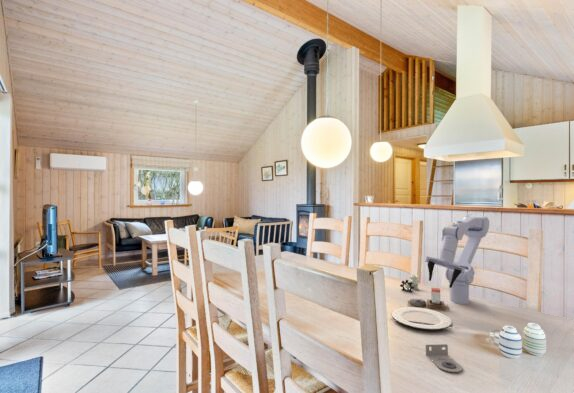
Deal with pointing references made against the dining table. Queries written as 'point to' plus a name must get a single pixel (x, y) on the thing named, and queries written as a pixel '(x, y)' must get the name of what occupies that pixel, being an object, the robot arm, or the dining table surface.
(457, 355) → the dining table surface
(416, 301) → the board
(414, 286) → the valve
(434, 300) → the pin
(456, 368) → the bracket
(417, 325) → the plate
